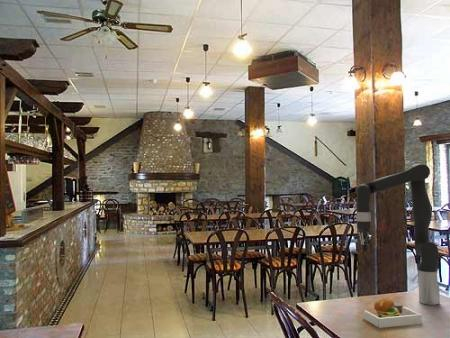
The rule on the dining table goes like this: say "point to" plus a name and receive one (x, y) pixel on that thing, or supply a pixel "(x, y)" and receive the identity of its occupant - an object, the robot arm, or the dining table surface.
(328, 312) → the dining table surface
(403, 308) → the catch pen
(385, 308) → the cheeseburger
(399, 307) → the cardboard carton
